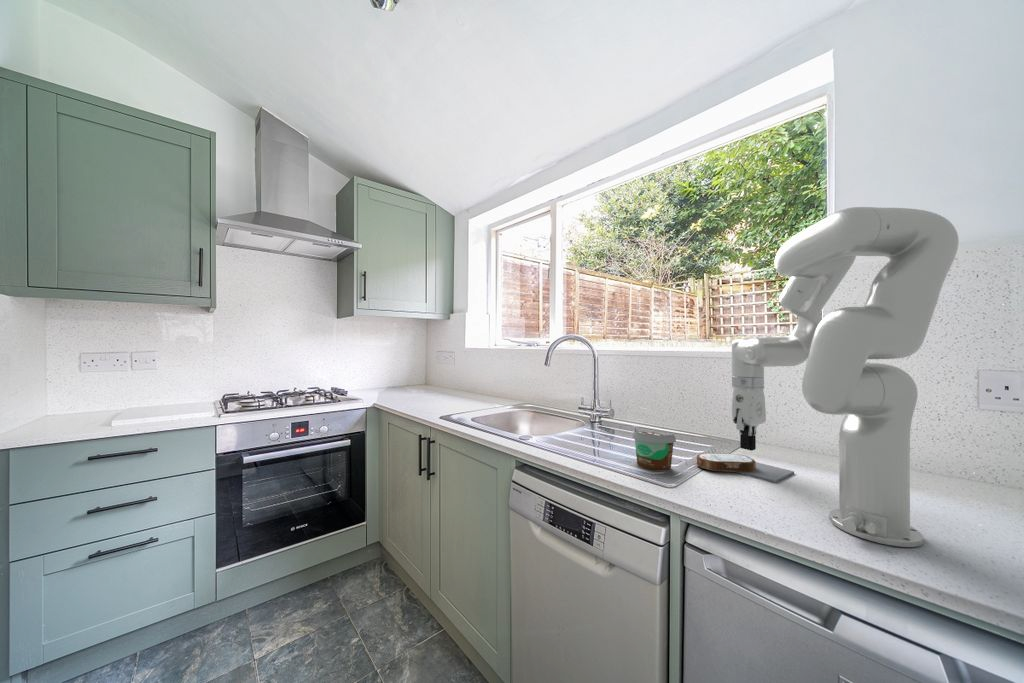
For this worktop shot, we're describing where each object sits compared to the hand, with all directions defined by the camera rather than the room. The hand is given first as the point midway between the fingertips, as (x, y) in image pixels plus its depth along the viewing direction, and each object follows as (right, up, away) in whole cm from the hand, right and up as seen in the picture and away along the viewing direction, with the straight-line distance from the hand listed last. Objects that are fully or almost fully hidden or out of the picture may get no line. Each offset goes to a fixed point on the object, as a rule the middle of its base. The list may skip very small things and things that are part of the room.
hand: (747, 448), depth 100 cm
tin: (-6, -4, -2) cm, 7 cm away
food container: (-26, -6, +3) cm, 27 cm away
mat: (+2, -6, +1) cm, 6 cm away
